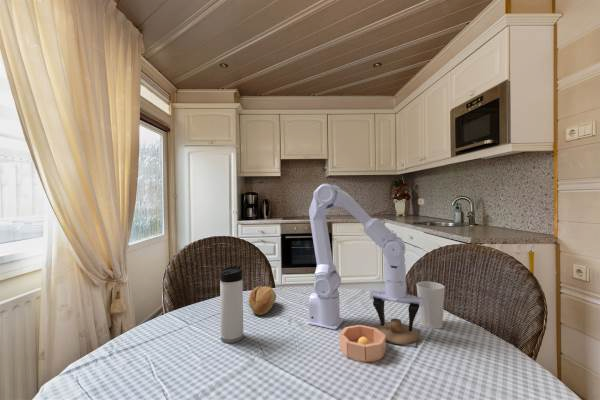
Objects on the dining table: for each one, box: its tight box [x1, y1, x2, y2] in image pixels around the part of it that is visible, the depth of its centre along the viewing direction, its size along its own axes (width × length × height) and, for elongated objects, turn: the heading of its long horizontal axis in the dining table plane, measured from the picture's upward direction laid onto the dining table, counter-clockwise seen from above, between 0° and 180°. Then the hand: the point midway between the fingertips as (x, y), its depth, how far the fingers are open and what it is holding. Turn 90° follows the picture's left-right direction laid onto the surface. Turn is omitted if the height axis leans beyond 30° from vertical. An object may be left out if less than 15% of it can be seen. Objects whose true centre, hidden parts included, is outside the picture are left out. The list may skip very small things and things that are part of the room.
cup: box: [415, 281, 446, 330], centre depth 84 cm, size 8×8×12 cm
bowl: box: [338, 324, 387, 363], centre depth 70 cm, size 11×11×4 cm
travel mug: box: [219, 264, 244, 344], centre depth 78 cm, size 6×7×20 cm
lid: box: [374, 318, 420, 345], centre depth 78 cm, size 12×12×4 cm
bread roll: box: [248, 285, 277, 316], centre depth 99 cm, size 10×15×8 cm, turn 179°
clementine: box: [358, 337, 370, 345], centre depth 69 cm, size 3×3×3 cm
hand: (396, 327), depth 78 cm, fingers open, 7 cm apart
